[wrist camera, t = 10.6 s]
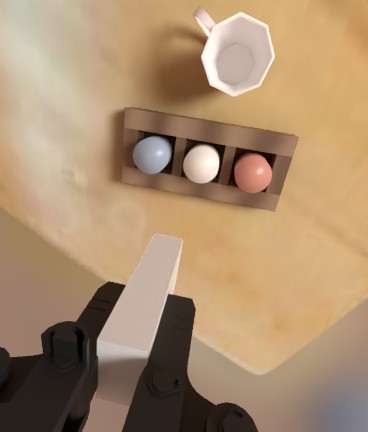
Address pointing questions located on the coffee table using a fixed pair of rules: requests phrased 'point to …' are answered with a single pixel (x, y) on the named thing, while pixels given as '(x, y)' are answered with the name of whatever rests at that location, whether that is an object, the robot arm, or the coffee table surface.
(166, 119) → the brown compartment tray
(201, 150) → the cream rounded knob
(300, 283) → the coffee table surface
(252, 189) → the pink egg
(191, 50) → the coffee table surface
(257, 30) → the cup
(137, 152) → the blue egg
